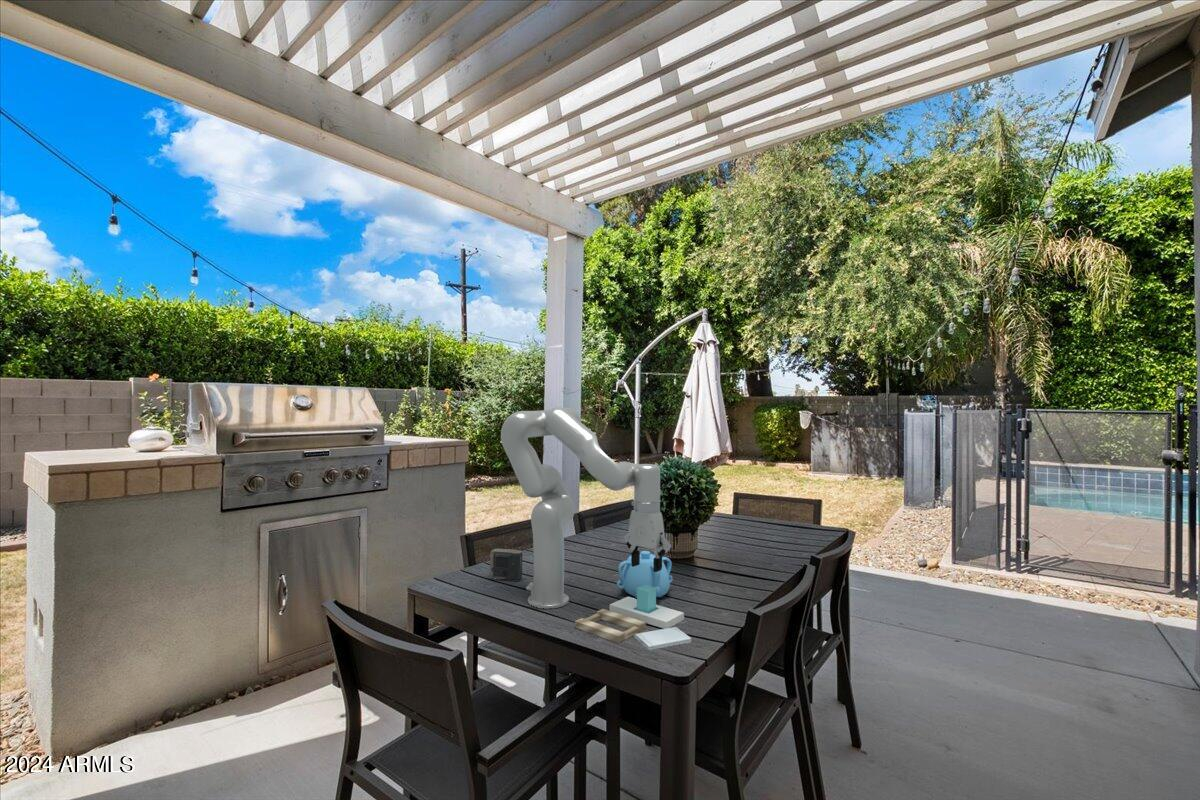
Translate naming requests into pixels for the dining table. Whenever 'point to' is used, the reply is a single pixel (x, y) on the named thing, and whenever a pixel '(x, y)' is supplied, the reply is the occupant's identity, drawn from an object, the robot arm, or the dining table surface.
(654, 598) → the plug
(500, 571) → the camera
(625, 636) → the tan hollow rectangular frame
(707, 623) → the dining table surface
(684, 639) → the hard drive
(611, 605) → the port panel
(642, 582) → the decorative pot
